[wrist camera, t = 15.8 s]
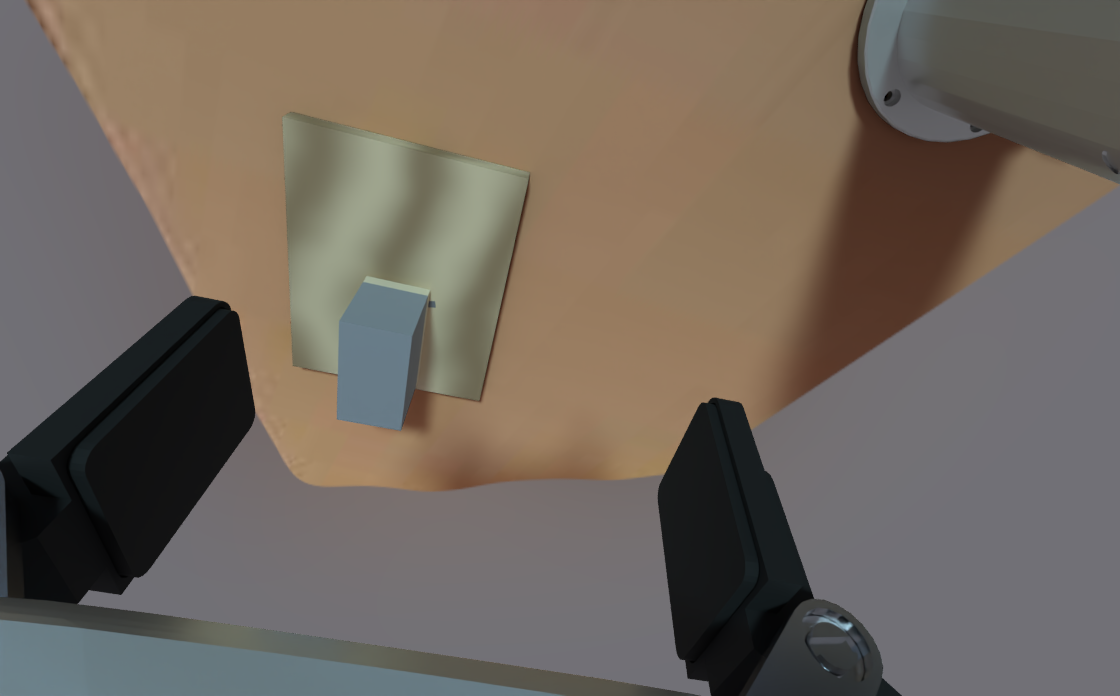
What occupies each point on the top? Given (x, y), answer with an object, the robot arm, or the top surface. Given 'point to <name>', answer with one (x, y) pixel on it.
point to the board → (397, 242)
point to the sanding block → (380, 352)
